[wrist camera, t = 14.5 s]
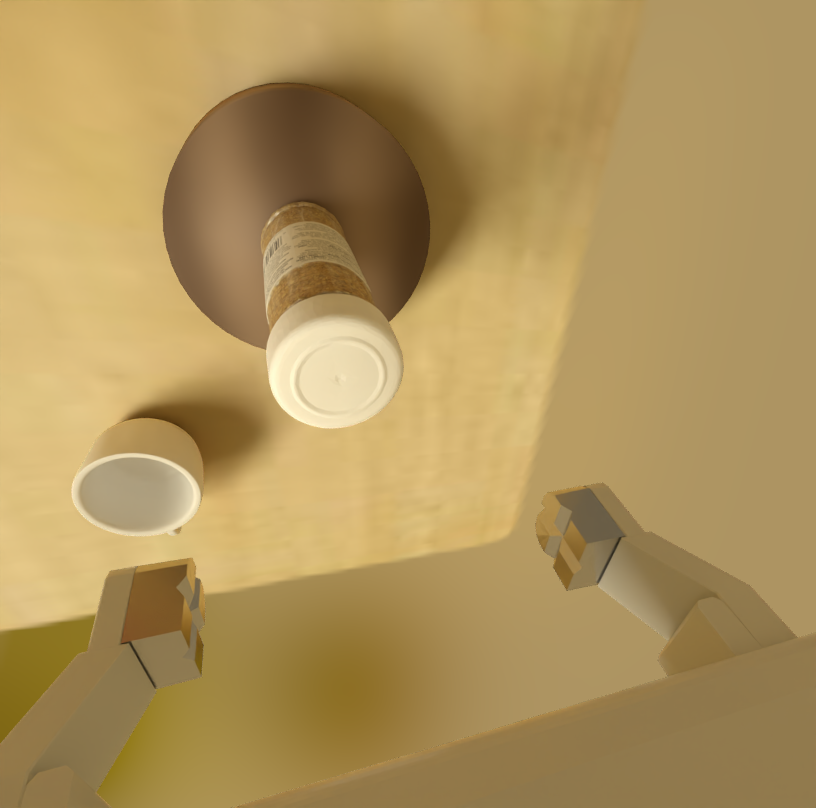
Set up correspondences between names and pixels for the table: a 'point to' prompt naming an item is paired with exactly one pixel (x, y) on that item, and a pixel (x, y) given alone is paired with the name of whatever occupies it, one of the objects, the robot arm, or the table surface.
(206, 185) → the disc
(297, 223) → the sprinkles bottle
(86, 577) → the table surface
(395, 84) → the table surface
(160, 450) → the teacup
